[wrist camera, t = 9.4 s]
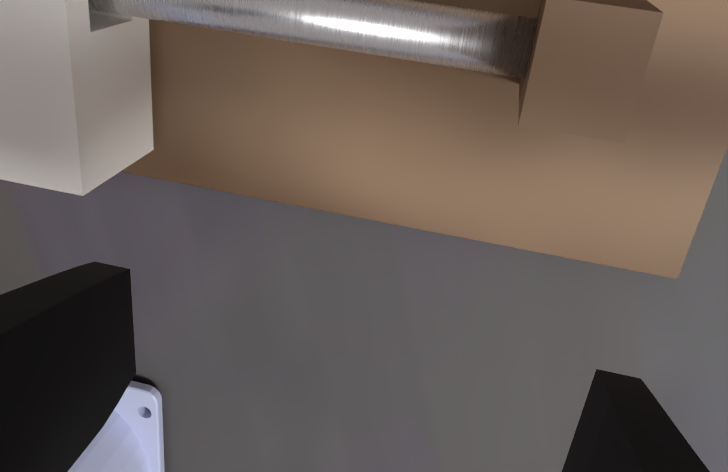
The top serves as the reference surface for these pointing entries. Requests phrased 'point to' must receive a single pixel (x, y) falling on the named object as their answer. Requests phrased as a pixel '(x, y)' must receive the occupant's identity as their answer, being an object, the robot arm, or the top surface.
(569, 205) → the guide board
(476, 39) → the guide rod
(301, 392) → the top surface
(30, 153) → the sleeve
